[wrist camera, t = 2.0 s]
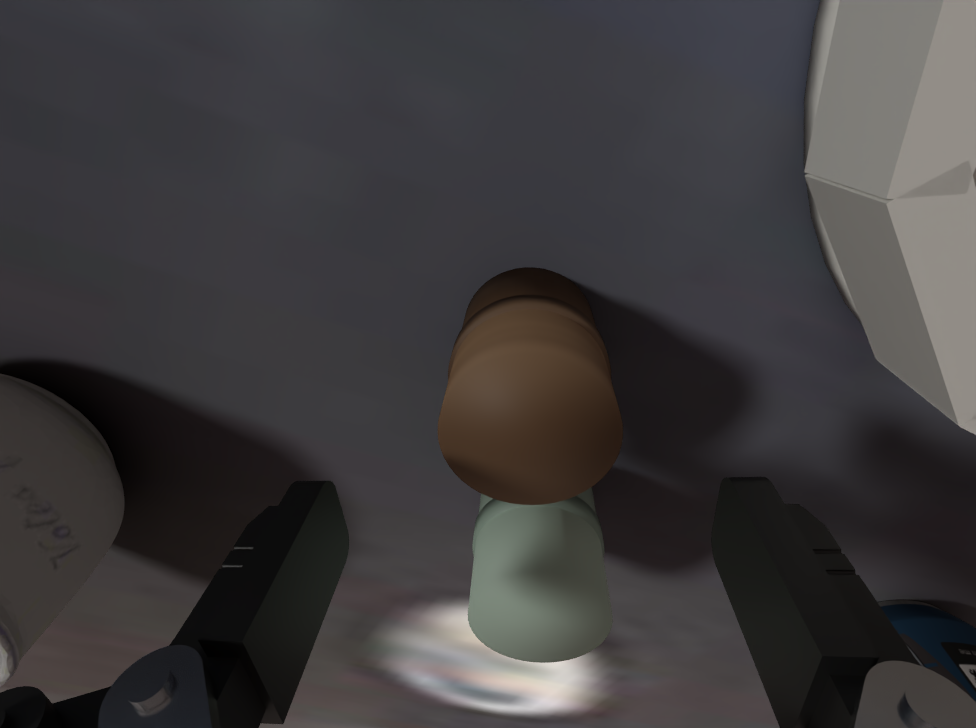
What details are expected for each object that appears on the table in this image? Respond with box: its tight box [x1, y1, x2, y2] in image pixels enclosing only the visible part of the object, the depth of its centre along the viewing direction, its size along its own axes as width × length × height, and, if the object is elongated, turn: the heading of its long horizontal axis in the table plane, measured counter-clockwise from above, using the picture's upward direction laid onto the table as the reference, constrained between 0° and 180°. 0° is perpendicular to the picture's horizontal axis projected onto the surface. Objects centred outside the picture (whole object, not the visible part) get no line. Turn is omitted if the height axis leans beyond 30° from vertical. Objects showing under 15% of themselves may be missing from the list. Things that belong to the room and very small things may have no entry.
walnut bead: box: [438, 268, 623, 505], centre depth 15 cm, size 5×5×6 cm
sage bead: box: [468, 487, 613, 662], centre depth 18 cm, size 5×5×6 cm
